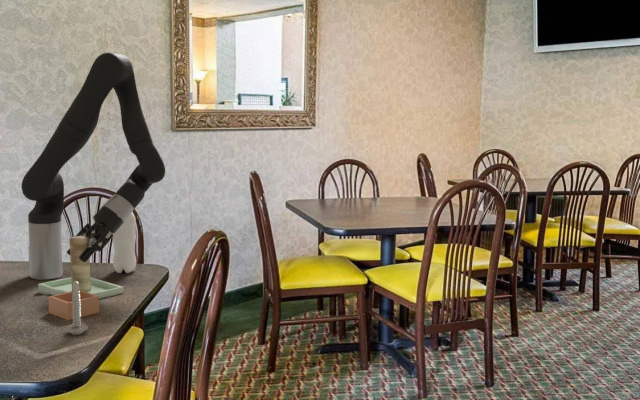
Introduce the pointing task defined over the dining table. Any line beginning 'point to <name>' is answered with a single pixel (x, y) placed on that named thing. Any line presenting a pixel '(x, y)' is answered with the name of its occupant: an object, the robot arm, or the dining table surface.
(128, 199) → the robot arm
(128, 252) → the water bottle
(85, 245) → the birch pin
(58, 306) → the terracotta holder
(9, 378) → the dining table surface
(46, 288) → the pale green tray
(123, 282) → the dining table surface
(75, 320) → the screw
